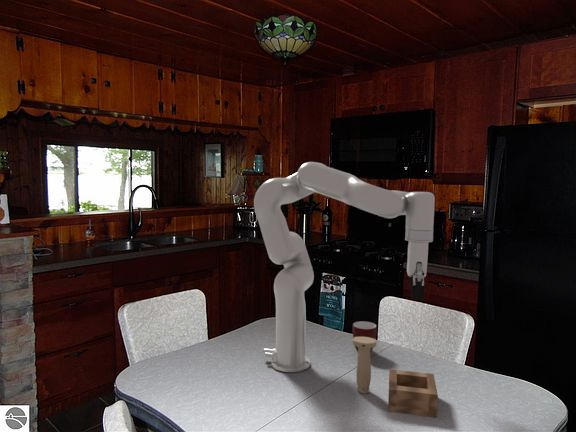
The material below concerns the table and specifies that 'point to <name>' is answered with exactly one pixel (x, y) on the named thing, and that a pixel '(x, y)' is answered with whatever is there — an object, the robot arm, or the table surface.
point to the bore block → (412, 393)
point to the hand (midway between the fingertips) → (416, 294)
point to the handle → (364, 362)
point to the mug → (364, 330)
